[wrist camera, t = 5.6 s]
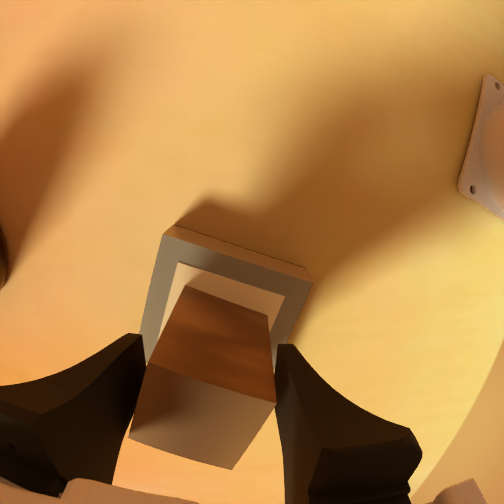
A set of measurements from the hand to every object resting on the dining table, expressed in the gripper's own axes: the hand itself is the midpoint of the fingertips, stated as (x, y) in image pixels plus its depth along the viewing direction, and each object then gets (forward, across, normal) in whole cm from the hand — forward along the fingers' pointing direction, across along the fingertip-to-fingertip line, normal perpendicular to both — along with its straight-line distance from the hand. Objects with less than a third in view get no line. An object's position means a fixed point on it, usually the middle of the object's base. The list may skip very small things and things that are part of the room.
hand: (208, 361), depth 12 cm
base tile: (+5, 0, 0) cm, 5 cm away
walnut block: (+3, 0, 0) cm, 3 cm away
